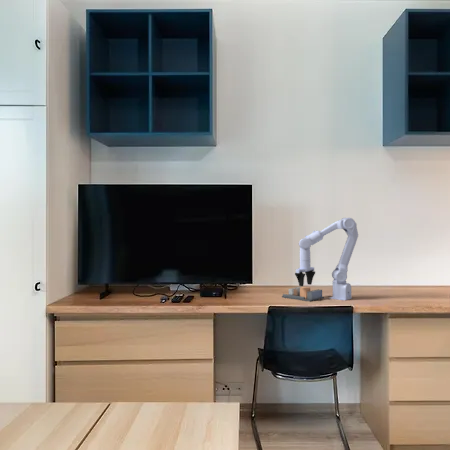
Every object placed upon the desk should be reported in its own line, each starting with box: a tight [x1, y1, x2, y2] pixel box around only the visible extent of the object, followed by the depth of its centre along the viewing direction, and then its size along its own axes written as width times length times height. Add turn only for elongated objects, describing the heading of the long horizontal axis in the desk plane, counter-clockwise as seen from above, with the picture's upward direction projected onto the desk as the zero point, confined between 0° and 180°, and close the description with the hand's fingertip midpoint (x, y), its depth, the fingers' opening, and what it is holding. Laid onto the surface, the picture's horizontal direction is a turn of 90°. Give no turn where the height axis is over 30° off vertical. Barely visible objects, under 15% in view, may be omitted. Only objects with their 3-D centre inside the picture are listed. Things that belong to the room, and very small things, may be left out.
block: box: [300, 286, 311, 298], centre depth 237 cm, size 4×4×5 cm
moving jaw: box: [288, 286, 302, 296], centre depth 241 cm, size 3×10×4 cm, turn 134°
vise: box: [281, 288, 325, 302], centre depth 238 cm, size 18×13×5 cm
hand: (305, 285), depth 237 cm, fingers open, 7 cm apart
